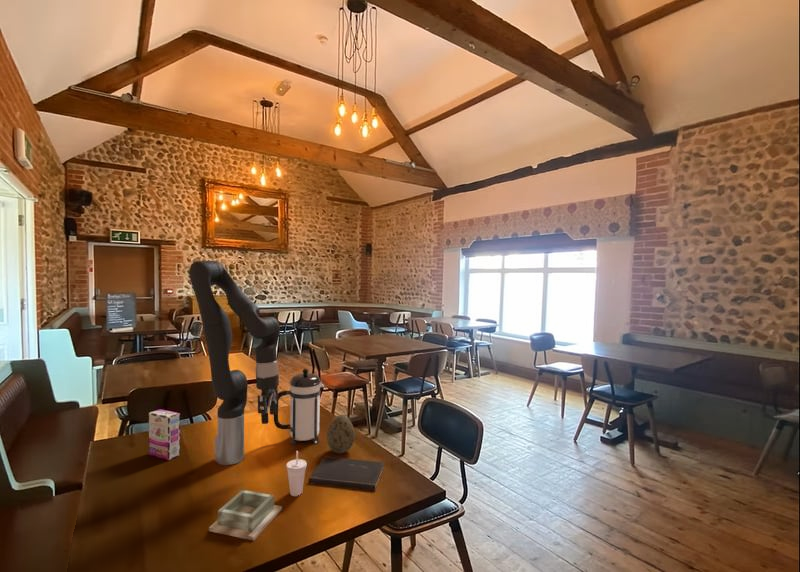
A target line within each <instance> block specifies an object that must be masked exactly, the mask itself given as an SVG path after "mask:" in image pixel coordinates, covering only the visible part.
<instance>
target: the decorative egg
mask: <svg viewBox="0 0 800 572" xmlns="http://www.w3.org/2000/svg"><path fill="white" fill-rule="evenodd" d="M355 436H356V434H355V429H354V425H353V423H352V421H351V420H350V418H349V417H348V416H346V415H345V414H338V415H336V416H335V417H334V418H333V419H332V420H331V422H330V424H329V426H328V429H327V433H326V443H327V445H328V447H329V449H330V450H331V451H332V452H334V453H335V454H345V453H346V452H348V451H349V450H350V449H351V447H352V446H353V445H354V442H355Z"/></svg>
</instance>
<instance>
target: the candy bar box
mask: <svg viewBox="0 0 800 572" xmlns="http://www.w3.org/2000/svg"><path fill="white" fill-rule="evenodd" d="M180 421H181V413H179V412H177V411H176V412H175V411H170V410H165V409H161V408H160V409H156V410H153V411H150V412H148V455H149V456H152V457H156V458H160V459H163V460H167V461H171V460H172V459H175V458H177V457H179V456H180V455H181V445H180V444H181V441H180V440H181V437H180V435H181V422H180Z"/></svg>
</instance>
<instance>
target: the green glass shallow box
mask: <svg viewBox="0 0 800 572" xmlns="http://www.w3.org/2000/svg"><path fill="white" fill-rule="evenodd" d="M282 509H283V507H282V506H281V505H277V504H275V495H274V494H267V493H263V492H257V491H252V490H251V491H250V490H246V489H245V490H244V489H242V490H240V491H239V492H238V493H237V494H236V495H234V496H233V497H232V498H231V499H230V500H229V501H228V502H226V503H225V504H224V505H223V506H222V507H221V508H219V509H218V510H217V519H216V520H215V522H213V523H212V524H211V525H209V527H208V532H212V533H216V534H222V535H226V536H231V537H235V538H239V539H244V540H249V541H255V540H256V539H257V538H258V537H259V536H260V534H262V533H263V531H264V530H265V529H266V528H267V527H268V525H270V524H271V522H272V521H273V520H274V518H276V517H277V516H278V514H279V513H280V512H281V511H282Z"/></svg>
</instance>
